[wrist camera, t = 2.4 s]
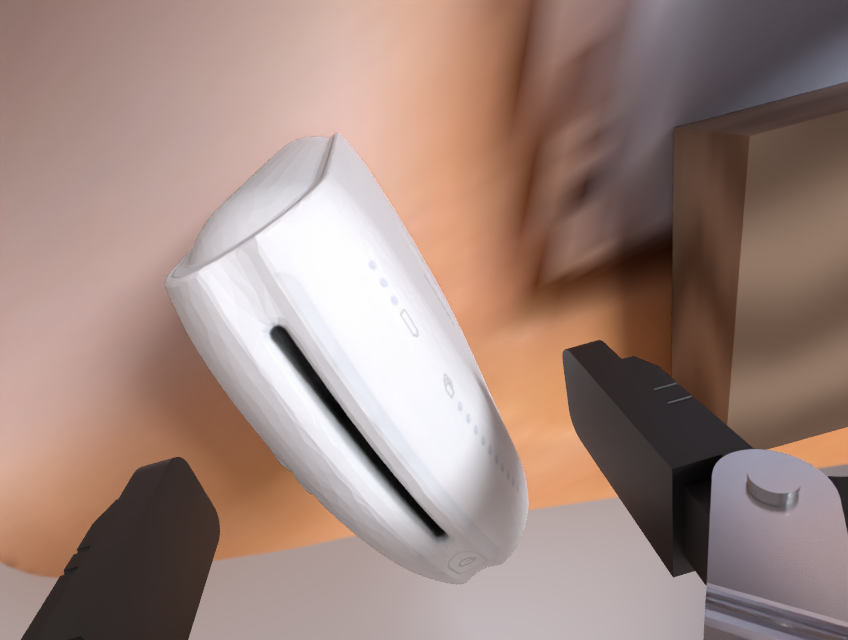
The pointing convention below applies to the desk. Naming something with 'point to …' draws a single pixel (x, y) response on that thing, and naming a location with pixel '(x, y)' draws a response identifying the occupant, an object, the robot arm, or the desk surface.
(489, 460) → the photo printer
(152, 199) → the desk surface
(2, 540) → the desk surface
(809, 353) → the walnut block
